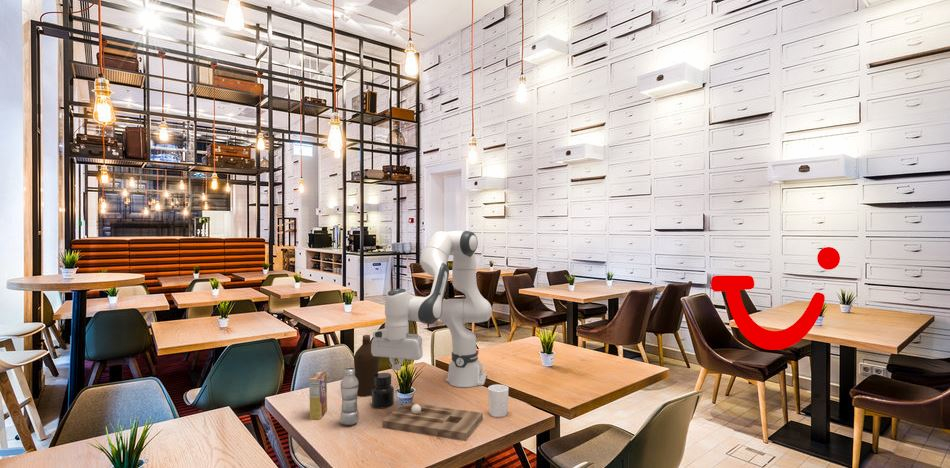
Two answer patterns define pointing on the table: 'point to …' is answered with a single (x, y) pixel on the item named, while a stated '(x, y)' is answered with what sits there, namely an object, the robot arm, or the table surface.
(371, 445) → the table surface
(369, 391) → the olive oil
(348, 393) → the plastic bottle
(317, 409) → the candy box
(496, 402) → the white cup
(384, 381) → the ink bottle
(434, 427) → the board
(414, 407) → the ball
